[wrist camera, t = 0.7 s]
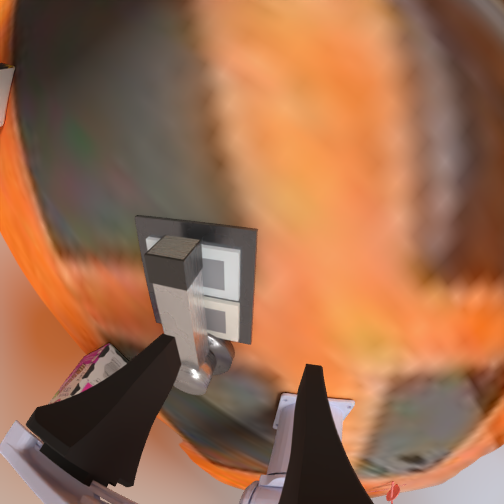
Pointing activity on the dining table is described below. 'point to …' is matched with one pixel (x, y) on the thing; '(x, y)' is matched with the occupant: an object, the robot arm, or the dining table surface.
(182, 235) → the plate
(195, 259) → the door handle
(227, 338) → the label
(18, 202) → the dining table surface
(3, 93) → the medicine bottle
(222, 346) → the pivot base
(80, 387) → the candy bar box
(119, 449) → the robot arm
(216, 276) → the label
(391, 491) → the figurine
